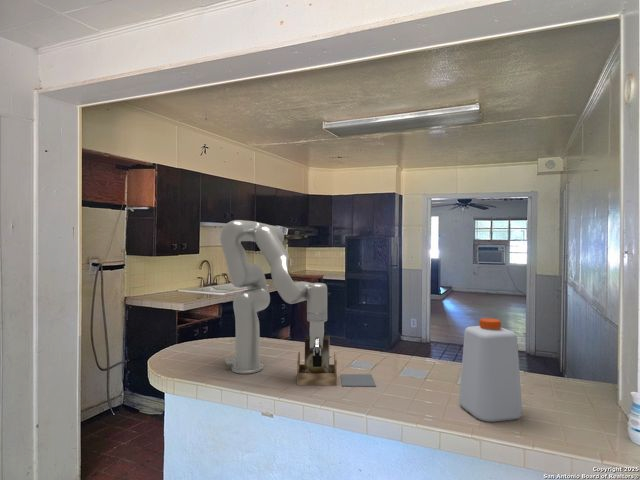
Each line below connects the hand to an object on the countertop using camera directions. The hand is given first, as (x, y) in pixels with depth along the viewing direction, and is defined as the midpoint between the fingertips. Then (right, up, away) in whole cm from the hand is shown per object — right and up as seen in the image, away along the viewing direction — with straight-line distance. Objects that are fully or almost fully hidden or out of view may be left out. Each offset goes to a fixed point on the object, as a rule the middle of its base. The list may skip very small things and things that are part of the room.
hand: (317, 362), depth 150 cm
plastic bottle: (+53, -7, -27) cm, 60 cm away
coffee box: (0, -7, 0) cm, 7 cm away
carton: (0, -6, 0) cm, 6 cm away
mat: (+15, -6, -1) cm, 16 cm away
